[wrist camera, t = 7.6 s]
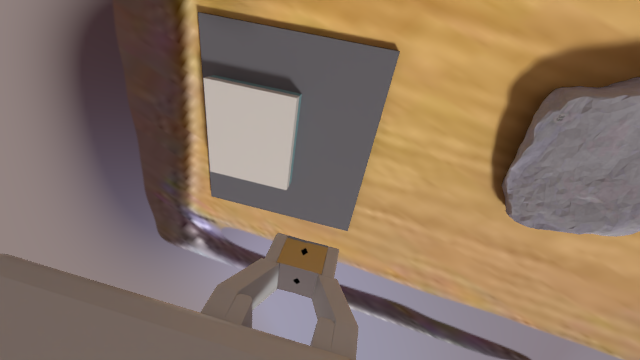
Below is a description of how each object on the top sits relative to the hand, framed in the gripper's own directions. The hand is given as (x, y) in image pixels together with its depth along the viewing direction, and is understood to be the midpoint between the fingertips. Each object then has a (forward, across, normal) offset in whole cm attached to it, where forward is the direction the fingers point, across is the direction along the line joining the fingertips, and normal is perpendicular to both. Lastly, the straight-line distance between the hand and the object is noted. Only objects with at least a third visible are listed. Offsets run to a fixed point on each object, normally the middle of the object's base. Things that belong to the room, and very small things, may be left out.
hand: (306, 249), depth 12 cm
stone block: (+15, -18, -3) cm, 24 cm away
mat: (+14, +5, +2) cm, 15 cm away
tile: (+12, +4, +1) cm, 13 cm away
